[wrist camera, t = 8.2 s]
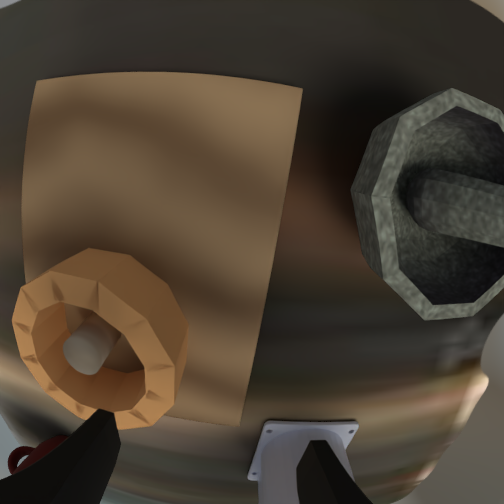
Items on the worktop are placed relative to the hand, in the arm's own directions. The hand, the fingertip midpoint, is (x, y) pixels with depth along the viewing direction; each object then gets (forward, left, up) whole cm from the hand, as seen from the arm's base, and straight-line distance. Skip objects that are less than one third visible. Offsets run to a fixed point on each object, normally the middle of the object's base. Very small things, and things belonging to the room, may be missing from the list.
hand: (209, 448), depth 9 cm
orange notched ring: (-1, +7, -8) cm, 11 cm away
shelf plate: (+3, +6, -9) cm, 12 cm away
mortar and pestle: (+10, -10, -10) cm, 17 cm away
